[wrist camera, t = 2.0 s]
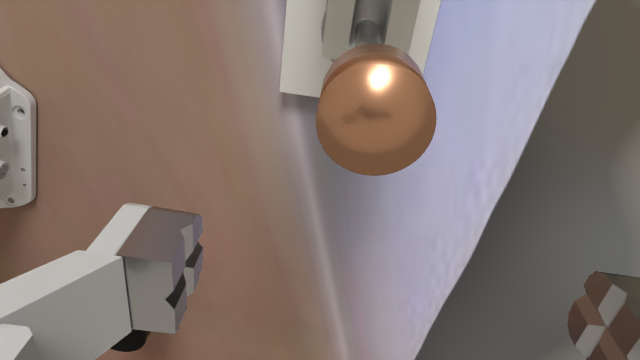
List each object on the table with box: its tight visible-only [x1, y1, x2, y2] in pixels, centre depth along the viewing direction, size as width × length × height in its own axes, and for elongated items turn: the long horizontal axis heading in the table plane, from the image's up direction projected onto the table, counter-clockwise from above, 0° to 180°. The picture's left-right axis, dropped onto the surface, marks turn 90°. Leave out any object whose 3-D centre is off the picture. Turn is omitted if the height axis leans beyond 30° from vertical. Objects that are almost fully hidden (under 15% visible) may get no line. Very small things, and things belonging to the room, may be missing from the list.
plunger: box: [316, 0, 436, 176], centre depth 24 cm, size 6×6×17 cm
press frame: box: [279, 0, 441, 98], centre depth 30 cm, size 20×14×30 cm
